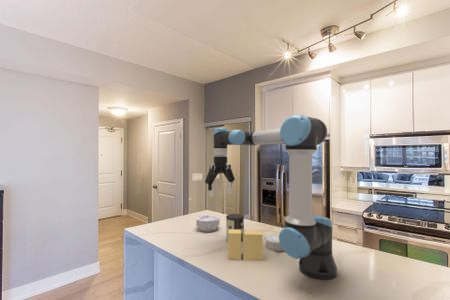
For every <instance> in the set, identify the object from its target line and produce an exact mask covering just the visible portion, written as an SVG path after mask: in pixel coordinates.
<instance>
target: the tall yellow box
mask: <svg viewBox="0 0 450 300" xmlns="http://www.w3.org/2000/svg"><path fill="white" fill-rule="evenodd" d="M263 241H264V239H263V231H262V230H245V229H244V230H243V241H242V260H244V261H245V260H247V261H248V260H249V261H263V259H264V258H263V256H264V253H263V250H264V247H263V244H264V243H263Z"/></svg>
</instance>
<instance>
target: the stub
mask: <svg viewBox="0 0 450 300" xmlns="http://www.w3.org/2000/svg"><path fill="white" fill-rule="evenodd" d="M227 245H228V247H227V256H228V258H227V259H228V260H242V242H241V230H232V229H229V231H228V241H227Z"/></svg>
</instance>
